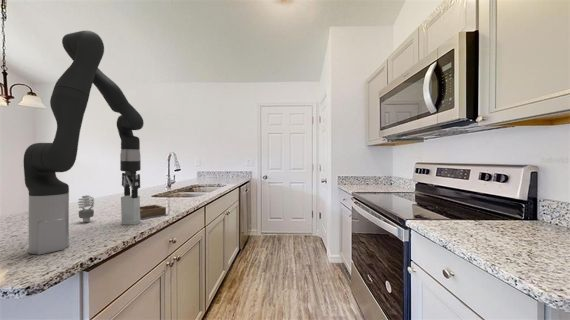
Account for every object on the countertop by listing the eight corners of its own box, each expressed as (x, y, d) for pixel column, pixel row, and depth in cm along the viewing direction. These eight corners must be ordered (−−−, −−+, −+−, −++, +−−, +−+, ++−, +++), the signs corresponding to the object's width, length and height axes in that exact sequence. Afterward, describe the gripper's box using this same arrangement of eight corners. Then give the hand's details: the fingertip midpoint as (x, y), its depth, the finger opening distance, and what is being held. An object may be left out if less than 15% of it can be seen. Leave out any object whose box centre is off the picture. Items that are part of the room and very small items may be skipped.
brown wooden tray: (165, 214, 127) (165, 207, 127) (141, 218, 119) (141, 210, 119) (155, 211, 135) (155, 204, 135) (132, 214, 126) (132, 207, 126)
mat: (167, 215, 127) (167, 214, 127) (137, 220, 116) (137, 219, 116) (155, 211, 136) (155, 210, 136) (126, 215, 125) (126, 215, 125)
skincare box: (140, 222, 112) (140, 195, 112) (133, 225, 108) (134, 196, 108) (127, 222, 113) (127, 195, 113) (120, 224, 108) (120, 196, 108)
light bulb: (74, 223, 110) (74, 195, 110) (88, 220, 116) (88, 194, 116) (84, 224, 109) (84, 196, 108) (97, 221, 114) (97, 194, 114)
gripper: (146, 160, 109) (146, 197, 109) (133, 159, 118) (133, 194, 118) (127, 160, 103) (127, 200, 103) (115, 159, 112) (115, 196, 112)
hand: (130, 197), depth 111 cm, fingers open, 8 cm apart
